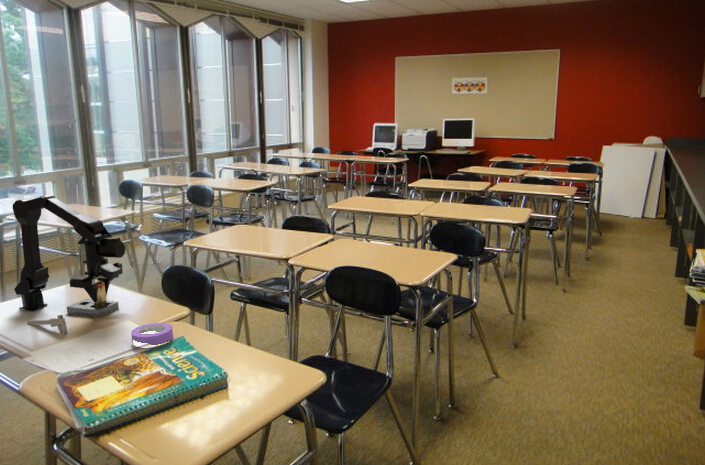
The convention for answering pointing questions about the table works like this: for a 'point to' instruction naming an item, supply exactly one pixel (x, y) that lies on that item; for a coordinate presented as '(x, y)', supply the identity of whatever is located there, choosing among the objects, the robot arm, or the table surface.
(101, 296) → the tan cylindrical container
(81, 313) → the grey flat block
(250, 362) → the table surface
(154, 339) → the masking tape
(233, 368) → the table surface
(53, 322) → the caliper
